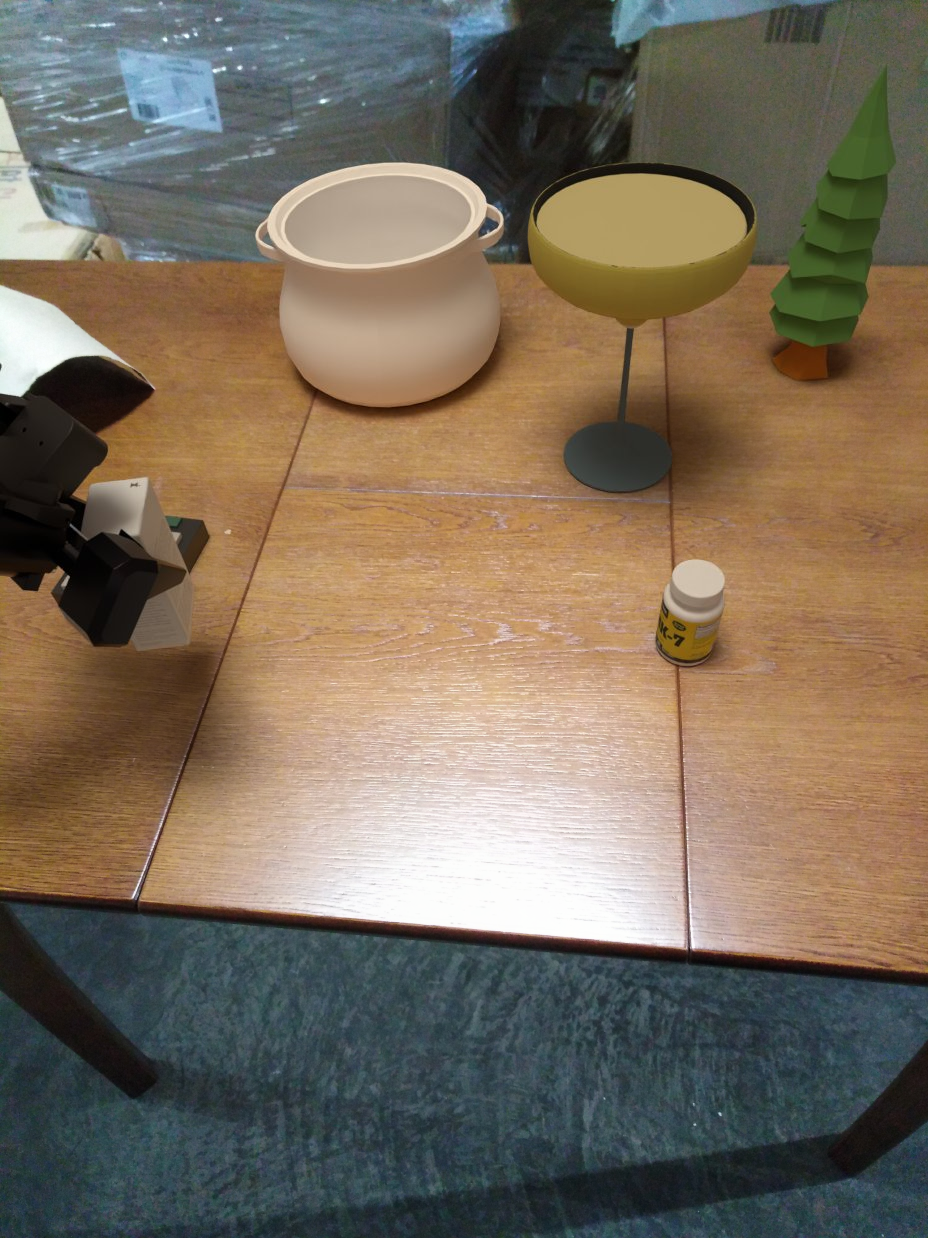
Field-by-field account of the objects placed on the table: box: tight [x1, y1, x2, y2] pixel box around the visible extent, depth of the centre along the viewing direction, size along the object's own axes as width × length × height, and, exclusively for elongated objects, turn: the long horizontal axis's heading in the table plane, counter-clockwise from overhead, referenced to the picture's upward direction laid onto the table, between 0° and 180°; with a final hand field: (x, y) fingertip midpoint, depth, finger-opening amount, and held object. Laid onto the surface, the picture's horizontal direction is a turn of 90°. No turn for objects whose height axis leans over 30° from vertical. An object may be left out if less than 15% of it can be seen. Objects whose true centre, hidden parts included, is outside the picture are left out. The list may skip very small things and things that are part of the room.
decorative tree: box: [769, 63, 897, 381], centre depth 87 cm, size 10×9×30 cm
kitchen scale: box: [50, 515, 210, 605], centre depth 82 cm, size 10×11×3 cm
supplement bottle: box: [654, 558, 726, 667], centre depth 71 cm, size 5×5×8 cm
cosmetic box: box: [81, 476, 196, 652], centre depth 65 cm, size 6×4×12 cm
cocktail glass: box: [527, 161, 758, 493], centre depth 80 cm, size 18×18×25 cm
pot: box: [254, 162, 505, 408], centre depth 97 cm, size 26×24×17 cm
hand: (154, 551), depth 65 cm, fingers closed on cosmetic box, 7 cm apart
